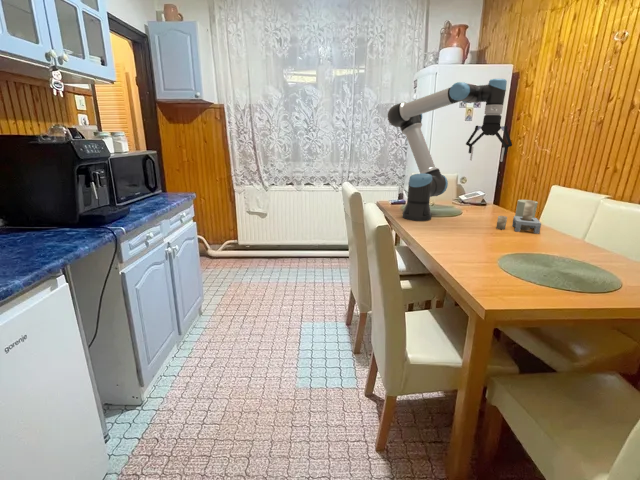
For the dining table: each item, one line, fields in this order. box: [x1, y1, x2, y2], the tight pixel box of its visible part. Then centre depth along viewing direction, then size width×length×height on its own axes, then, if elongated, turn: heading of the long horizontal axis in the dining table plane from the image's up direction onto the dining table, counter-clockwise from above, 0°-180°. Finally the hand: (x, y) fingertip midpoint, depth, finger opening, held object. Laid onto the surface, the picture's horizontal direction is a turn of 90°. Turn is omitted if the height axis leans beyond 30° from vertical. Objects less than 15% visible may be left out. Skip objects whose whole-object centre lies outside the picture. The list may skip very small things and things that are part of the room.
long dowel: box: [520, 199, 536, 232], centre depth 167 cm, size 4×4×14 cm
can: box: [514, 199, 538, 218], centre depth 181 cm, size 9×9×12 cm
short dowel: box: [495, 215, 508, 231], centre depth 170 cm, size 4×4×6 cm
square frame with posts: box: [511, 215, 542, 235], centre depth 169 cm, size 10×12×5 cm
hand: (485, 161), depth 170 cm, fingers open, 13 cm apart
